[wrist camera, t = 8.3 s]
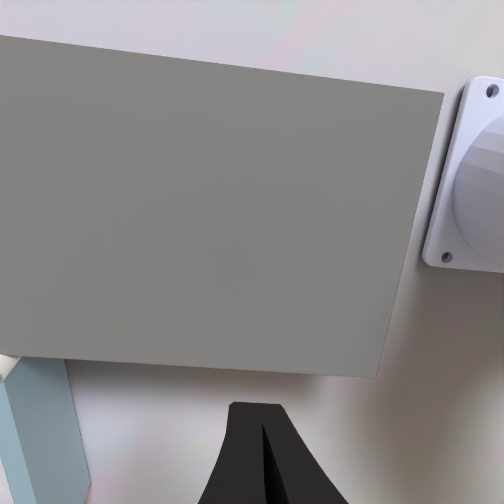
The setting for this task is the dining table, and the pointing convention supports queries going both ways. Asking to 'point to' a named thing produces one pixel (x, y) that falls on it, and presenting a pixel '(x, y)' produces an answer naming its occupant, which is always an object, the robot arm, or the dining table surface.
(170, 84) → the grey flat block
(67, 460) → the side door
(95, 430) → the dining table surface
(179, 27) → the dining table surface
